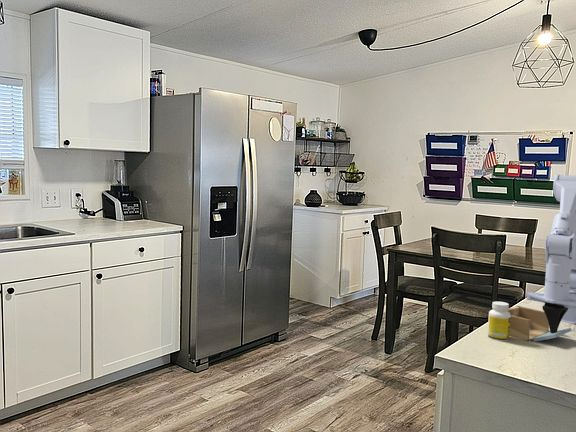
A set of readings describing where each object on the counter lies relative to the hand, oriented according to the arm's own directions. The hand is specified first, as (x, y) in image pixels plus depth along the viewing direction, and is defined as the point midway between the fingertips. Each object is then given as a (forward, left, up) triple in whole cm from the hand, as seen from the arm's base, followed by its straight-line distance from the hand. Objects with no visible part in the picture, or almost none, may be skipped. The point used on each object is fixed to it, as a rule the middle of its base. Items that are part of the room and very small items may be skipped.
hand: (553, 332), depth 137 cm
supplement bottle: (+9, -10, -3) cm, 14 cm away
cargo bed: (0, -9, -3) cm, 9 cm away
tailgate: (0, -3, -2) cm, 4 cm away
